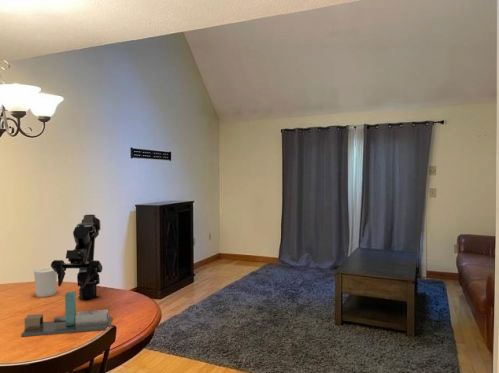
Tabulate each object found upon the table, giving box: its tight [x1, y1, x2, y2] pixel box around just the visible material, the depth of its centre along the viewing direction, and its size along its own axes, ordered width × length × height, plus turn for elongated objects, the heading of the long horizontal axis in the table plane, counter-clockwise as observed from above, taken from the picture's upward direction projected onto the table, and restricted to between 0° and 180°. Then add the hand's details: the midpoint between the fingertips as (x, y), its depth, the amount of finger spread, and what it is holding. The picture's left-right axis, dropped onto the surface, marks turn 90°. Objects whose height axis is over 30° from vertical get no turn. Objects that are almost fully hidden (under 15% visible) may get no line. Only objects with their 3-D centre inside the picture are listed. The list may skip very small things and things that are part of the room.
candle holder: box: [33, 266, 58, 298], centre depth 177 cm, size 10×10×12 cm
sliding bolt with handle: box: [53, 291, 77, 326], centre depth 140 cm, size 18×3×12 cm, turn 102°
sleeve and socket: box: [20, 308, 113, 337], centre depth 139 cm, size 29×10×5 cm, turn 102°
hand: (71, 286), depth 146 cm, fingers open, 9 cm apart
